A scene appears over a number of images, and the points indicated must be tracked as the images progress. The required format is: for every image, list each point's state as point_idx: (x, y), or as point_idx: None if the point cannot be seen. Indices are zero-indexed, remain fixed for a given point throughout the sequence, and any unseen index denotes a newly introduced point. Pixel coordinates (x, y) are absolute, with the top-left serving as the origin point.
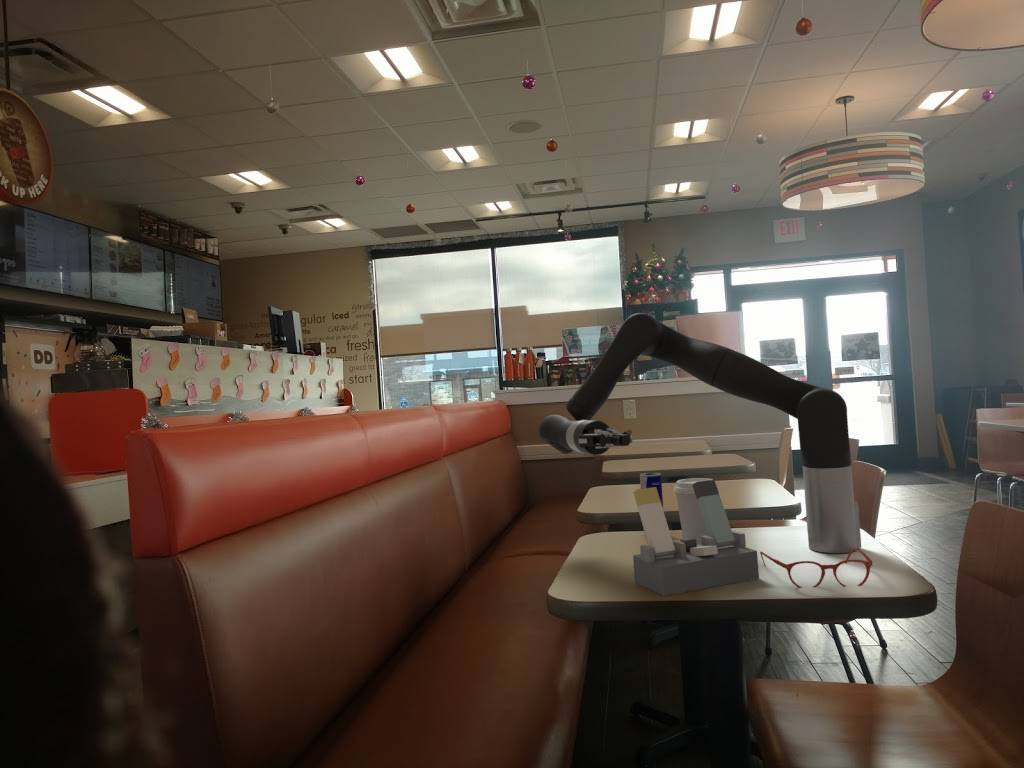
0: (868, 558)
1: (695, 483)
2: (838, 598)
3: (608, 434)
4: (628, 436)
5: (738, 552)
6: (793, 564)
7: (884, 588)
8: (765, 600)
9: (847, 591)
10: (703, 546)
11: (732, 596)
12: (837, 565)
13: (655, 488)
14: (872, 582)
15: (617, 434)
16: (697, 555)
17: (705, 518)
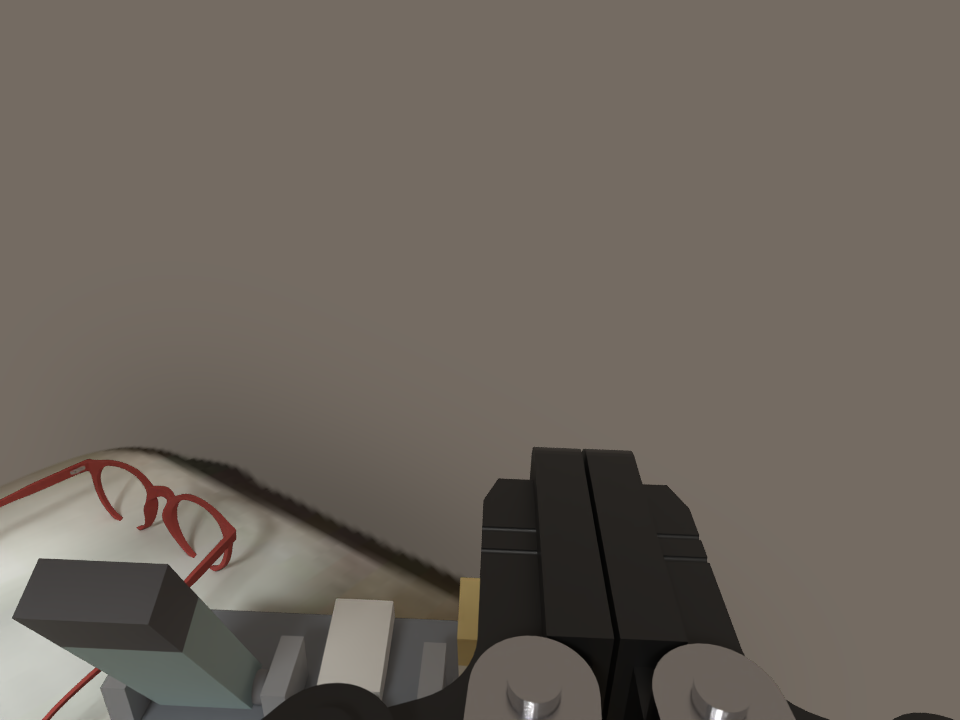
0: (51, 476)
1: (164, 583)
2: (244, 492)
3: (791, 714)
4: (532, 456)
5: (245, 623)
6: (222, 519)
7: (112, 487)
8: (367, 545)
9: (181, 507)
10: (339, 658)
11: (404, 598)
12: (151, 484)
13: (467, 581)
14: (72, 517)
15: (626, 581)
16: (388, 659)
17: (223, 660)
